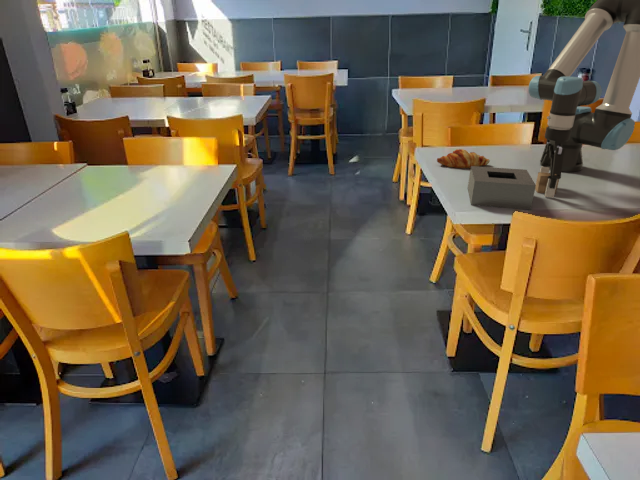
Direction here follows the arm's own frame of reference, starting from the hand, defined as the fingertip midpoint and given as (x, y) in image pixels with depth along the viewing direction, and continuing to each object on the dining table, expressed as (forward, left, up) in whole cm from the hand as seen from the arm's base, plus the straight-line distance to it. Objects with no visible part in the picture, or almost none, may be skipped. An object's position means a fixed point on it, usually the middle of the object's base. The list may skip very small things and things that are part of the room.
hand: (545, 190), depth 166 cm
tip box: (+17, +11, 0) cm, 20 cm away
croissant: (+26, -25, -1) cm, 36 cm away
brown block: (0, 0, 0) cm, 0 cm away
